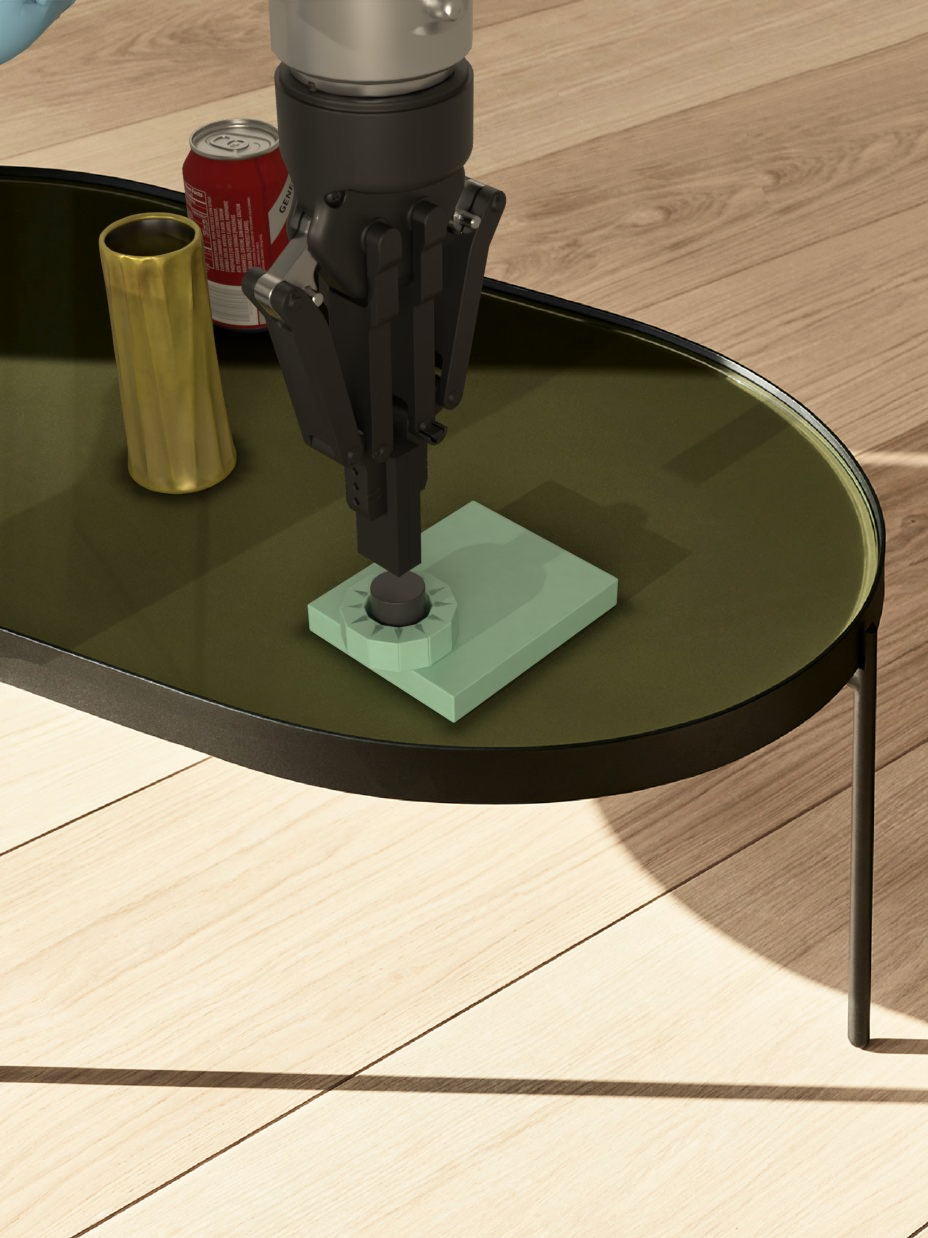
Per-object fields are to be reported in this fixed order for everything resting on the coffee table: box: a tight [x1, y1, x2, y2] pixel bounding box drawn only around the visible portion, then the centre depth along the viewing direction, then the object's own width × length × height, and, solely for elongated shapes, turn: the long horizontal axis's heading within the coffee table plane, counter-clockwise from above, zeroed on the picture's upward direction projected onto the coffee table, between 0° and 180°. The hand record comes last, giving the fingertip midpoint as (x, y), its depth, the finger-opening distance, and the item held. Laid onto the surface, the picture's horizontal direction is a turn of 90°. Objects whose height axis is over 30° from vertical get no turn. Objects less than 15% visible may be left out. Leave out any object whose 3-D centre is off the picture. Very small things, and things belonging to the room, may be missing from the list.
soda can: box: [181, 117, 294, 334], centre depth 104 cm, size 7×7×12 cm
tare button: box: [370, 571, 426, 628], centre depth 79 cm, size 3×3×2 cm
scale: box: [307, 500, 619, 723], centre depth 83 cm, size 13×10×4 cm
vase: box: [98, 212, 237, 495], centre depth 90 cm, size 6×6×14 cm
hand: (389, 557), depth 78 cm, fingers closed
